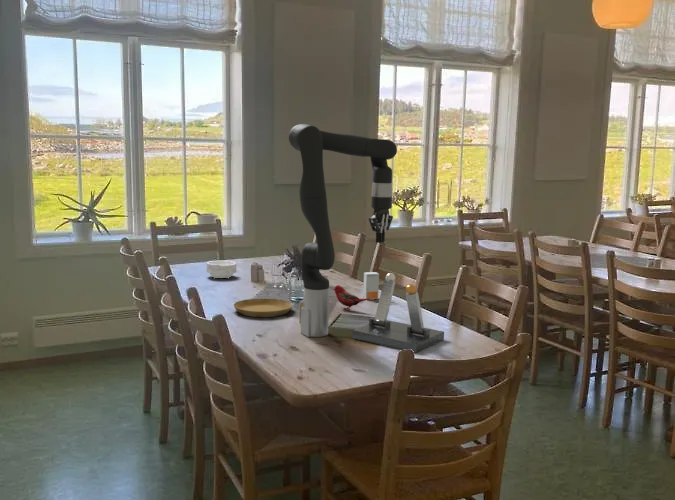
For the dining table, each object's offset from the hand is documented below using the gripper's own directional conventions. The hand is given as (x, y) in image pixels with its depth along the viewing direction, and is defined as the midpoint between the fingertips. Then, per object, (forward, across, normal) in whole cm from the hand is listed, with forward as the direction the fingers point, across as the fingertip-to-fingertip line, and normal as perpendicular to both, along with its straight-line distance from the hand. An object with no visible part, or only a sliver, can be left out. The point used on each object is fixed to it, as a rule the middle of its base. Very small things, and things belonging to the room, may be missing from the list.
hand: (380, 242), depth 237 cm
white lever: (+30, -6, -5) cm, 31 cm away
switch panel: (+33, -6, -13) cm, 36 cm away
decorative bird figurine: (+33, +17, +24) cm, 44 cm away
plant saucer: (+34, -8, +50) cm, 61 cm away
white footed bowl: (+33, +29, +114) cm, 123 cm away
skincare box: (+33, +40, +30) cm, 60 cm away
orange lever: (+30, -5, -21) cm, 37 cm away
